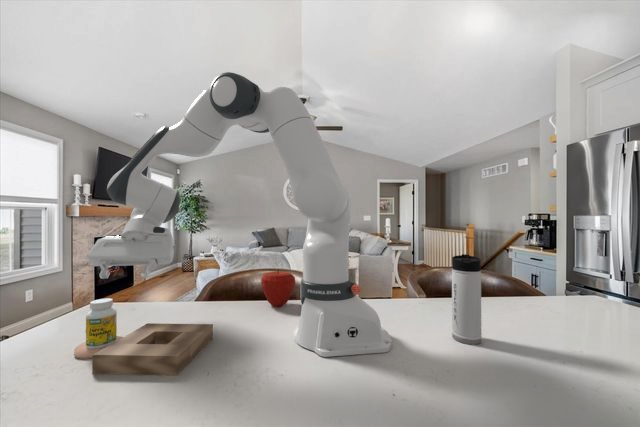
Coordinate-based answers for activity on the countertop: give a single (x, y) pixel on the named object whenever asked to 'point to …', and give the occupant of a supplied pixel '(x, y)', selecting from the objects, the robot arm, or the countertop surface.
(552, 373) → the countertop surface
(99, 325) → the supplement bottle
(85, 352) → the peach round disc
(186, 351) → the frame
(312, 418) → the countertop surface
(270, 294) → the red tapered strawberry shape
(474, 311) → the travel mug
